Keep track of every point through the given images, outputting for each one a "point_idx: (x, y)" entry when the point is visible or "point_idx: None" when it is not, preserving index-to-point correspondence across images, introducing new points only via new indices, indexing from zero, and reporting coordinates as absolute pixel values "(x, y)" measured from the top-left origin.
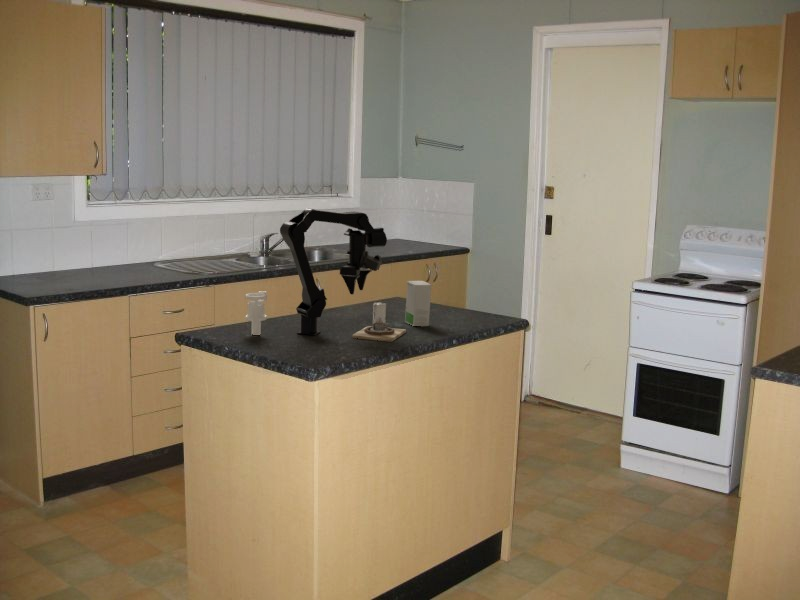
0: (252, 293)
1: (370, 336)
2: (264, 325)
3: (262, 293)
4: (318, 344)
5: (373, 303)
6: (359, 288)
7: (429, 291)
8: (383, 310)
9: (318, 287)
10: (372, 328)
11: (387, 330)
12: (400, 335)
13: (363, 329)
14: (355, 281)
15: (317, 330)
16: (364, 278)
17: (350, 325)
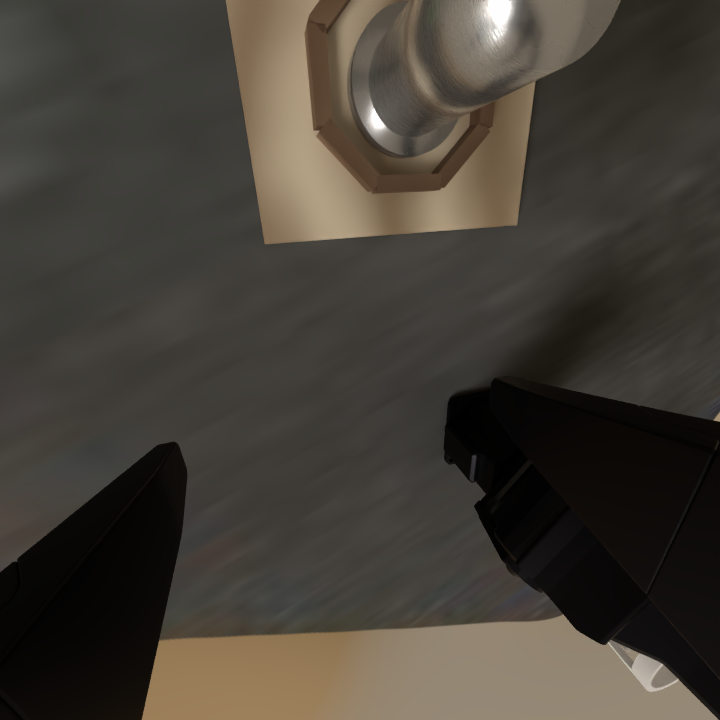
0: (654, 686)
1: (523, 105)
2: (421, 581)
3: (655, 671)
4: (628, 299)
5: (566, 60)
6: (183, 490)
7: None
8: None
9: (647, 602)
10: (403, 145)
11: (404, 3)
12: None
13: (374, 225)
14: (705, 438)
15: (455, 413)
16: (58, 612)
17: (246, 368)
